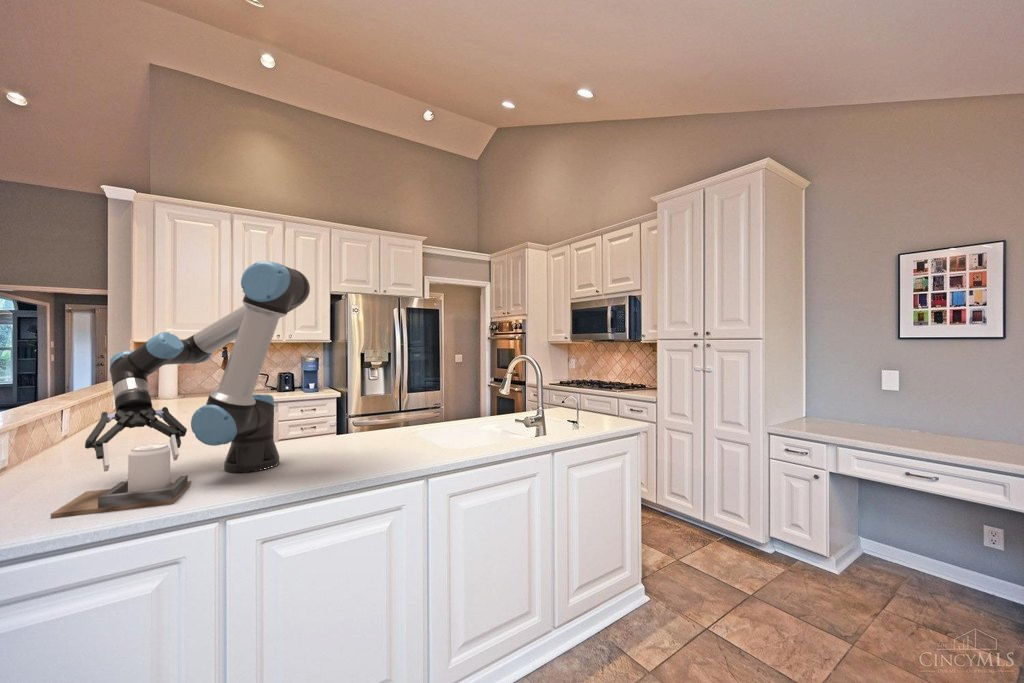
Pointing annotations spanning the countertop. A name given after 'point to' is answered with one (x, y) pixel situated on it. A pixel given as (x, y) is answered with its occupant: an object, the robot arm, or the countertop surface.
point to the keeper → (122, 499)
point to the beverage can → (149, 467)
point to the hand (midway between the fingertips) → (143, 462)
